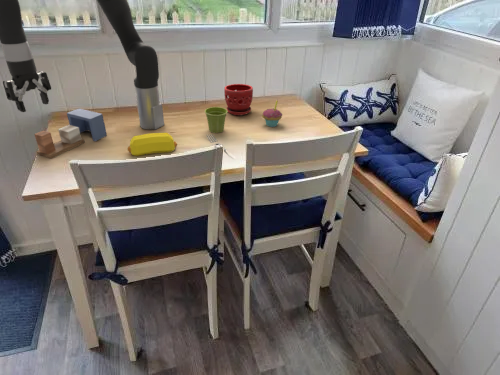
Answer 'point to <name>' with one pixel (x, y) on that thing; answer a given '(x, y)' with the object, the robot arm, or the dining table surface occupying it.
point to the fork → (214, 140)
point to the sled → (68, 141)
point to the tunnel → (88, 122)
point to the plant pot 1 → (216, 118)
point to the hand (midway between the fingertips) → (34, 107)
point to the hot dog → (151, 144)
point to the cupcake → (272, 116)
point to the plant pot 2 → (238, 98)
